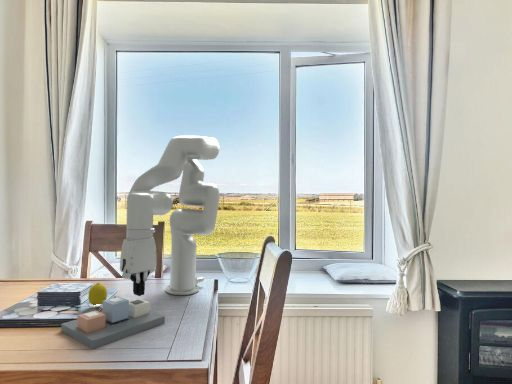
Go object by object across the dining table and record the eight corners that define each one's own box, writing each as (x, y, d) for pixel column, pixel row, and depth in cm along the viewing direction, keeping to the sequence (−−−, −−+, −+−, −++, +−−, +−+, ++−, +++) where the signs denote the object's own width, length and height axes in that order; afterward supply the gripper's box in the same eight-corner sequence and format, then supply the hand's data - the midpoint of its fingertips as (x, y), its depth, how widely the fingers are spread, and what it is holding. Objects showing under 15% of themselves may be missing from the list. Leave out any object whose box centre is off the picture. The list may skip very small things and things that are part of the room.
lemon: (99, 311, 111) (100, 286, 111) (84, 309, 112) (85, 284, 112) (110, 305, 116) (111, 281, 116) (95, 303, 117) (96, 280, 117)
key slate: (118, 313, 103) (118, 295, 103) (128, 317, 100) (128, 299, 100) (102, 318, 99) (102, 299, 99) (112, 322, 96) (112, 303, 96)
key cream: (138, 314, 108) (139, 297, 108) (148, 318, 105) (149, 301, 105) (124, 319, 104) (124, 301, 104) (134, 323, 101) (134, 305, 101)
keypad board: (132, 309, 113) (132, 303, 113) (164, 322, 103) (164, 316, 103) (61, 331, 95) (61, 323, 95) (92, 348, 86) (92, 340, 86)
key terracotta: (95, 328, 97) (95, 309, 97) (105, 333, 94) (105, 313, 94) (77, 333, 93) (77, 314, 93) (86, 339, 90) (87, 319, 90)
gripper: (152, 229, 113) (151, 286, 114) (109, 235, 101) (108, 298, 102) (167, 232, 109) (166, 291, 109) (124, 239, 97) (123, 304, 97)
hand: (138, 294), depth 106 cm, fingers closed
